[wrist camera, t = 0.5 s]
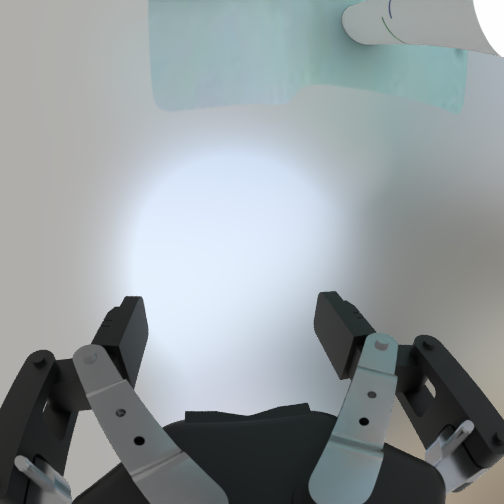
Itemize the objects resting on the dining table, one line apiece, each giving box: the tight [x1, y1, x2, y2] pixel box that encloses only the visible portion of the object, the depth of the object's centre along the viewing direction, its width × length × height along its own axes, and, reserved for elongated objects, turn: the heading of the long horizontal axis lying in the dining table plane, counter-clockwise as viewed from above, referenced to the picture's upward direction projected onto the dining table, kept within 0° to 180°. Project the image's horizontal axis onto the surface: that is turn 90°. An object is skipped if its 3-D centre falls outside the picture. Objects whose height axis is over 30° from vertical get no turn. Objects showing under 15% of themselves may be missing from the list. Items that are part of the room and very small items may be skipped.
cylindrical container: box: [342, 0, 504, 57], centre depth 17 cm, size 7×7×25 cm
